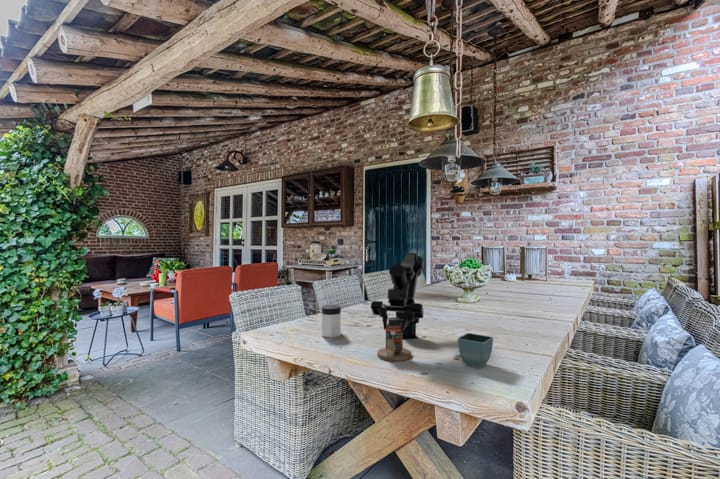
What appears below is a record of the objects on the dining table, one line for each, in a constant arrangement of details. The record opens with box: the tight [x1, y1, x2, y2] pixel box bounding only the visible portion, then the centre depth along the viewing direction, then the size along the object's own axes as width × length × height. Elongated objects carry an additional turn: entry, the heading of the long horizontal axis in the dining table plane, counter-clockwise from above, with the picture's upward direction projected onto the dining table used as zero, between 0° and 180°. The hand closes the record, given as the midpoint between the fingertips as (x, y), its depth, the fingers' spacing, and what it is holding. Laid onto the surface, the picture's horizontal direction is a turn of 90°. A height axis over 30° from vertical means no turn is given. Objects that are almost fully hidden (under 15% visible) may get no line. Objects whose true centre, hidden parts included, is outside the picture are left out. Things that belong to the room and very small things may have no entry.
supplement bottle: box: [385, 316, 404, 353], centre depth 122 cm, size 6×6×11 cm
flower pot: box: [457, 332, 494, 369], centre depth 112 cm, size 9×9×9 cm
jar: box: [321, 304, 342, 339], centre depth 148 cm, size 9×8×12 cm
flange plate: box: [376, 339, 412, 363], centre depth 121 cm, size 12×12×7 cm
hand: (393, 329), depth 120 cm, fingers closed on supplement bottle, 6 cm apart
